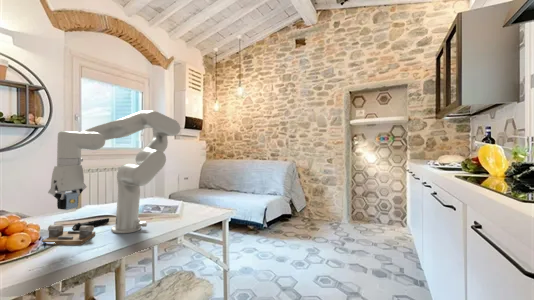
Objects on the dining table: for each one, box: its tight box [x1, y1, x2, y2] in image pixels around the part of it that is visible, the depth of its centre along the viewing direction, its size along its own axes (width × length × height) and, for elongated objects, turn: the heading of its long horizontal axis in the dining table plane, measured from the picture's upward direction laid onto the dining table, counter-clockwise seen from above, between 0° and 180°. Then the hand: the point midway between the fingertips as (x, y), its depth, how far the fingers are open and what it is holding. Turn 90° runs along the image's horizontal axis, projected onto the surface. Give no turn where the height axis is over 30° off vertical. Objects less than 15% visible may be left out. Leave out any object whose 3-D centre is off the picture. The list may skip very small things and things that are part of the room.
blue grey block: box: [62, 191, 79, 211], centre depth 102 cm, size 6×4×6 cm
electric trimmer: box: [71, 217, 110, 231], centre depth 124 cm, size 4×16×3 cm, turn 149°
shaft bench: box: [41, 224, 96, 246], centre depth 106 cm, size 16×11×6 cm
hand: (68, 206), depth 102 cm, fingers closed on blue grey block, 4 cm apart
